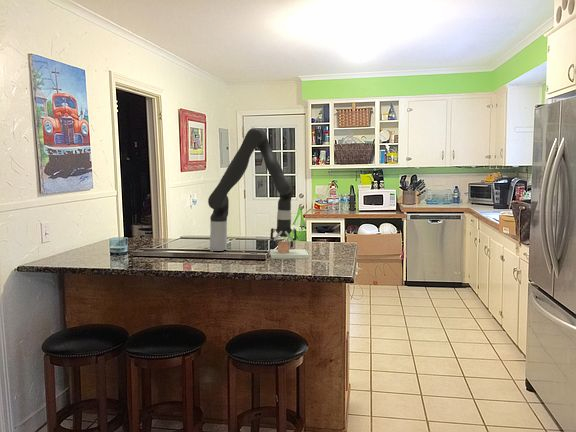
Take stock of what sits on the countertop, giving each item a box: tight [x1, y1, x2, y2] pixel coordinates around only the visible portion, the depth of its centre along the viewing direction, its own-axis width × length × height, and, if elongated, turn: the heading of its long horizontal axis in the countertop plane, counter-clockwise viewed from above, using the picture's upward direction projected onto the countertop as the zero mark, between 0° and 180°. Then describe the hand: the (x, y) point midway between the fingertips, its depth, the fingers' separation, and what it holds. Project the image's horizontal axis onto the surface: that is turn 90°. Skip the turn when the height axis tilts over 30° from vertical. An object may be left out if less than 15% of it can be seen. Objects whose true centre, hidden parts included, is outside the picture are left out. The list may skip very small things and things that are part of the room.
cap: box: [277, 240, 290, 253], centre depth 261 cm, size 6×6×6 cm
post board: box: [269, 249, 310, 260], centre depth 262 cm, size 20×14×6 cm
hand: (283, 247), depth 261 cm, fingers open, 8 cm apart
